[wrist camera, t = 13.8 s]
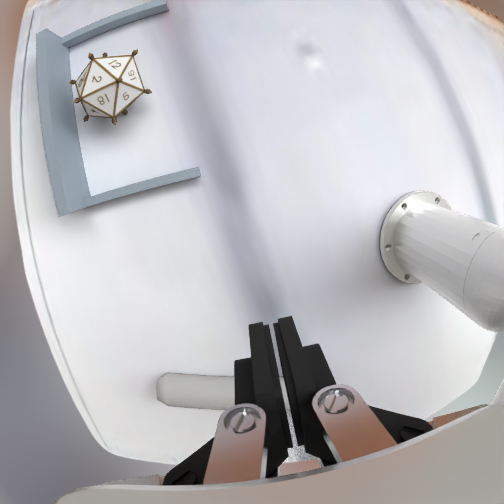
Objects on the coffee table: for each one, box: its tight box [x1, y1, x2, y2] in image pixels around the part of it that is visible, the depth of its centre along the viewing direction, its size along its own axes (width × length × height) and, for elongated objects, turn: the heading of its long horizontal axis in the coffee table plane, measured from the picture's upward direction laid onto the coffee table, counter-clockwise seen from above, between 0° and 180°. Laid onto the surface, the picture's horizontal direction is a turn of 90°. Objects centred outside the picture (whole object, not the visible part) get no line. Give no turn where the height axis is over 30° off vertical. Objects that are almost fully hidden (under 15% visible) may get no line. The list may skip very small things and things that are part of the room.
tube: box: [156, 373, 290, 410], centre depth 40 cm, size 5×5×25 cm
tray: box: [36, 0, 201, 217], centre depth 28 cm, size 16×23×6 cm
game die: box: [69, 49, 152, 125], centre depth 26 cm, size 9×8×10 cm
